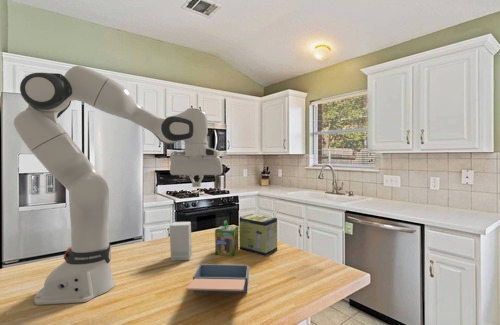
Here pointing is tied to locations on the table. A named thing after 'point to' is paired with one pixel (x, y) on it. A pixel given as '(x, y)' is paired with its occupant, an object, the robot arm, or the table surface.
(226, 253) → the chalk box
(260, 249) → the protein box
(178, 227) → the skincare box
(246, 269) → the mailer
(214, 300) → the table surface
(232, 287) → the lid
